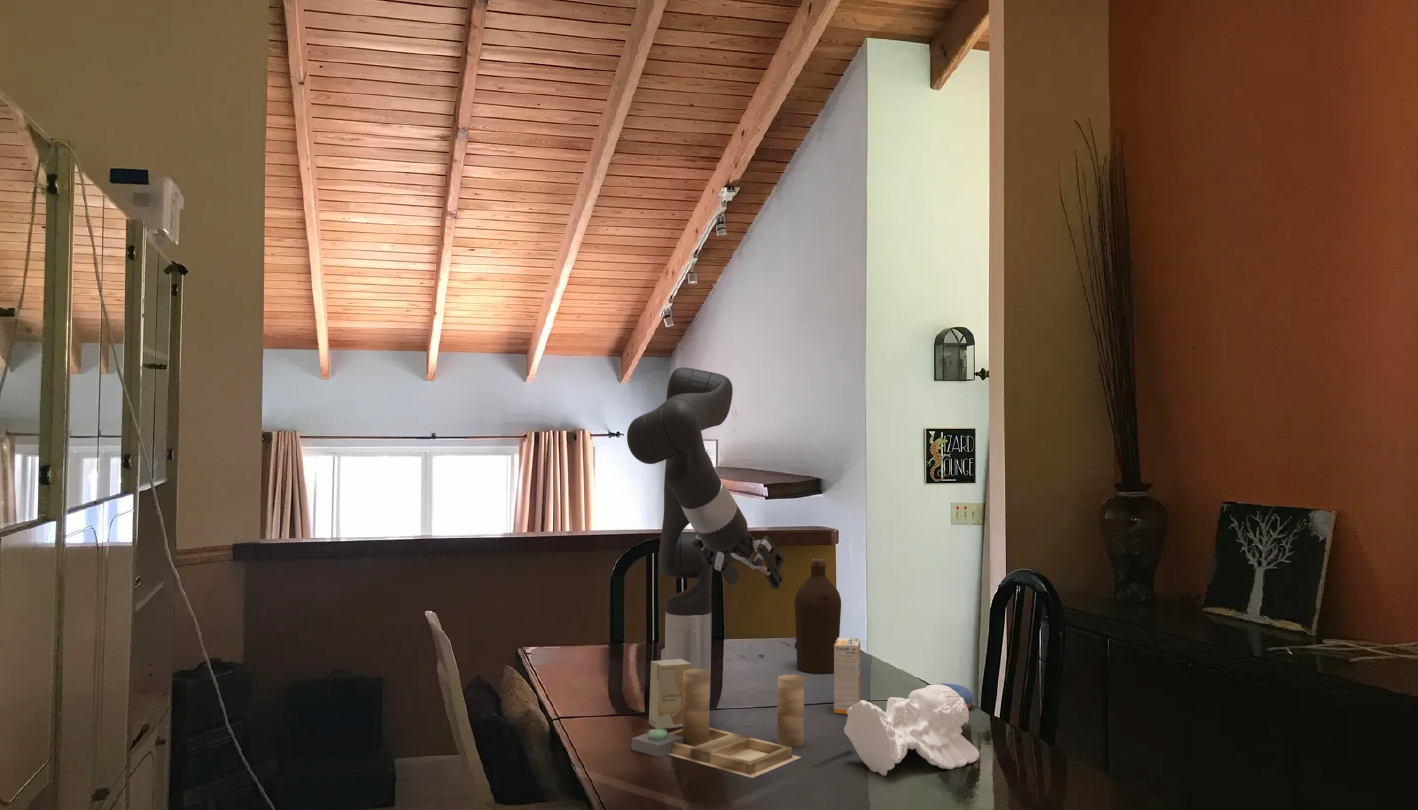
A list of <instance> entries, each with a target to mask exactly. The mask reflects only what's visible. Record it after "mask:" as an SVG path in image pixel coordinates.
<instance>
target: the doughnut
mask: <svg viewBox="0 0 1418 810" xmlns="http://www.w3.org/2000/svg"><path fill="white" fill-rule="evenodd" d="M934 684H935V683H931V684H930V685H934ZM939 684H941V685H945V686H948V687H950V688H951V689H953V690H955V691H956V692H957V693H958V694H959V696H960V697H961V698H964V701H965V704H966V705H967V708H968V710H969V709H971V707H972V706H973V704H974V694H973V692H972V691H971V689H969V688H967V687H965V686H963V685H959V684H956V683H955V684H954V683H944V682H943V683H941V682H940V683H939ZM924 688H926V686H925V687H924ZM971 705H972V706H971Z"/></svg>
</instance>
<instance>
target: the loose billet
mask: <svg viewBox="0 0 1418 810" xmlns="http://www.w3.org/2000/svg"><path fill="white" fill-rule="evenodd" d="M804 706H805V677H803V676H802V675H798V674H797V675H796V674H782V675H778V676H777V708H776V709H777V712H776V713H777V714H776V715H777V718H776V721H777V725H776V726H777V727H776V728H777V729H776V732H777V734H776V739H777V740H776V744H779V745H783V746H788V747H792V748H799V747H802V746H803V745H804V742H805V741H804V738H805V737H804V733H805V730H804V729H805V726H804V725H805V722H804V719H805V713H804V712H805V707H804Z"/></svg>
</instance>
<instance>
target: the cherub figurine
mask: <svg viewBox="0 0 1418 810" xmlns="http://www.w3.org/2000/svg"><path fill="white" fill-rule="evenodd" d="M933 684H934V685H931V684H928V685H926V686H925V687H926V688H925V687H922V688H918V689H914V690H912V691H911V692H910V693H909V694H908V698H904V697H896V696H894V697H892V696H890V697H889V698H888V699H887V702H886V710H884V711H883V709H881V707H879V706H877V705H875V704H873V703H872V702H869V701H867V700H865V699H864V700H863V699H861V700H860V701H859V703H856V704H854V705H852V707H850V708H849V709H848V710H847V714H846V715H847V718H846V723H845V725H844V727H843V731H844V734H845V735H846V736H847V737H848V739H849V740H850V742H851V745H853V748H854V749H855V751H856V753H857V754H858V756H859V758H860V759H861V761H862V762H863V763H864V764H865V765H866V766H867V767H868V769H869V770H870V771H872V772H874V773H879V774H880V775H881V776H884V777H885V776H887V775H888V771H891V770H893V769H895V767H896V766H895V764H899V763H901V762H902V760H903V759H904V758H905V757H906V755H907V753H908V750H914V749H915V751H916V752H917V754H918V755H919V756H921V758H923V759H925V760H926V761H927V762H928V763H929V764H930V765H932V766H937V767H938V768H940V769H946V770H953V769H955V768H962V767H965V766H966V765H967V764H973V763H974V762H976V761H977V760H978V759H979V757H980V752H979V749H977V747H975V746H974V745H973V744H972V743H971V742H970V741H969V740H967V738H965V736H963V735H962V733H963V729H962V726H963V725H964V724H968V723H969V713H970V710H969V709H968V708H967V705H966V704H965V701H964V698H961V697H960V696H959V694H958V693H957V692H956V691H955V690H953V689H951V688H950V687H948V686H945V685H941V684H940V683H933Z"/></svg>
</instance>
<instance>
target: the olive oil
mask: <svg viewBox="0 0 1418 810" xmlns="http://www.w3.org/2000/svg"><path fill="white" fill-rule="evenodd" d="M810 562H811V564H810V576H809V577H808V578H807V579H806V580H805V581H804V583H803V584H801V586H799V588H798V589H797V591H796V595H795V597H794V619H795V620H794V621H795V643H794V648H795V649H794V650H796V669H797V670H799V671H800V672H804V673H808V674H821V675H822V674H823V675H824V674H832V673H833V674H834V645H835V642H836V640H837V638H840V633H841V629H840V628H841V617H842V616H841V614H842V613H841V612H842V599H841V595H840V592H839V590H838V589H837V588H836V586H835V585H834V584H833V583H832V582H831V581H830V580H829V579H828V577H827V575H826V566H827V565H826V559H825V558H811V561H810Z"/></svg>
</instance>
